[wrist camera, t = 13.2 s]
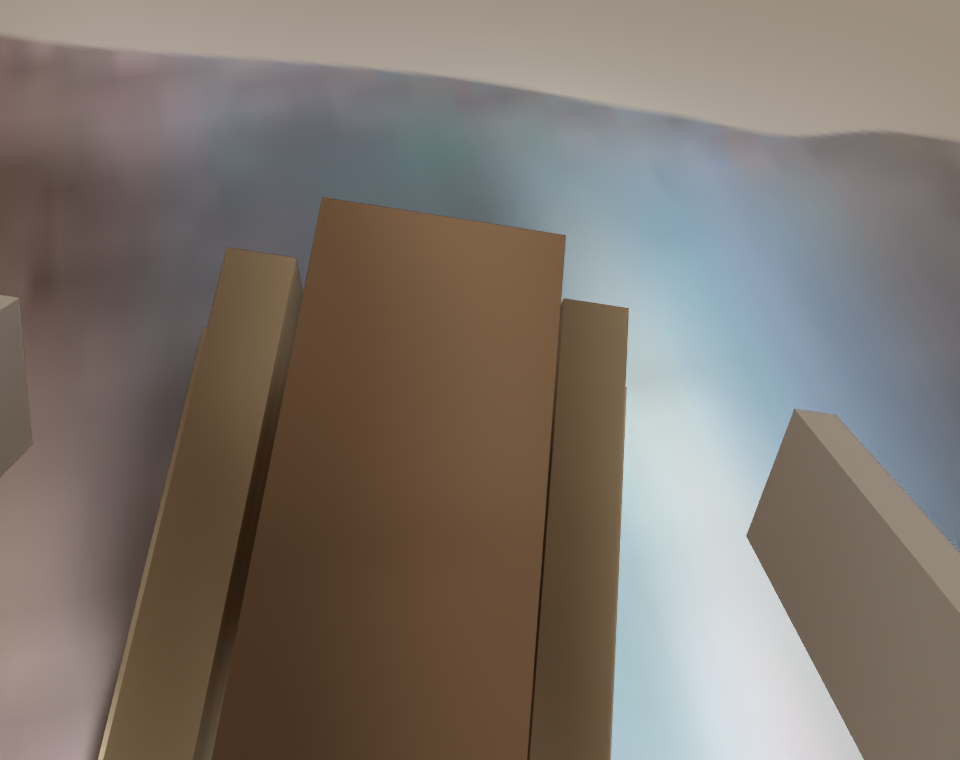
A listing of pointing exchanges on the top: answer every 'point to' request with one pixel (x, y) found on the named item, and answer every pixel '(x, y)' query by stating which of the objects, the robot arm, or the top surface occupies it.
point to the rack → (238, 499)
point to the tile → (403, 498)
